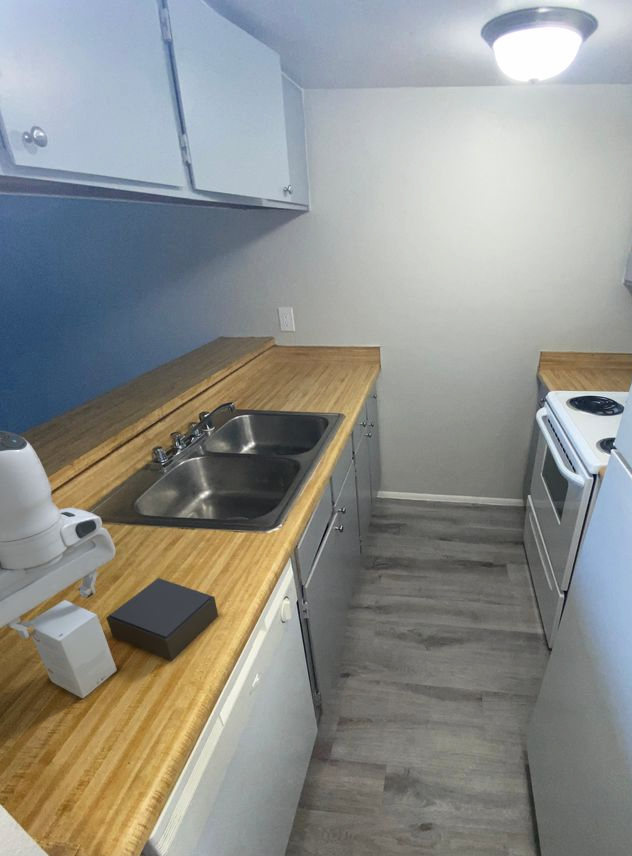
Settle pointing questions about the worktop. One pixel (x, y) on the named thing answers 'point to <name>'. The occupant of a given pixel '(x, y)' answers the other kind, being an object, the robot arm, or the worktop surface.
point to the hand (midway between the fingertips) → (60, 613)
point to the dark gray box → (163, 618)
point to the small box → (73, 648)
